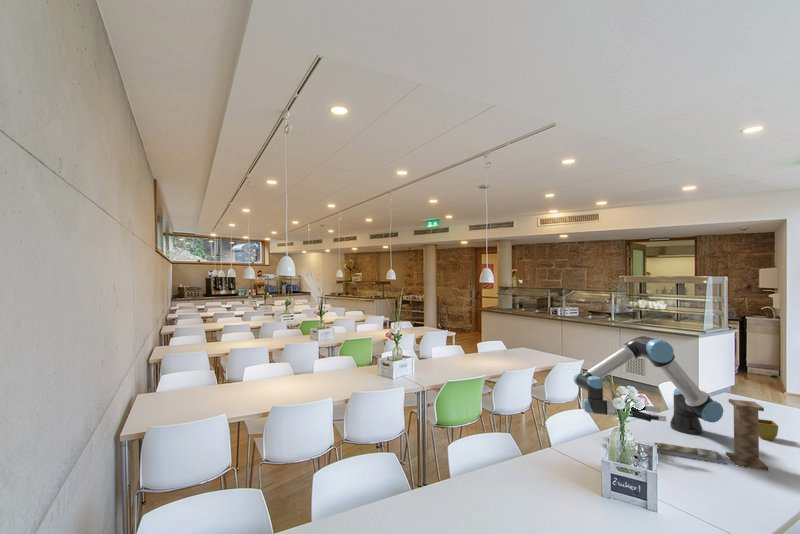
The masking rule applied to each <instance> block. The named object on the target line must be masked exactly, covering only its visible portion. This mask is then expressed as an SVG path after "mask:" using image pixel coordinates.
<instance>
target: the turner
mask: <svg viewBox="0 0 800 534" xmlns="http://www.w3.org/2000/svg"><path fill="white" fill-rule="evenodd" d="M657 443H658V447H659V448H661V449H667V450H673V451H680V452H686V453H692V454H698V456H700V457H706V458H712V459H717V456H716V455H715V453H714V452H715V451H714V450H712V449H707V448H706V449H705V448H700V447H688V446H684V445H675V444H671V443H670V444H669V443H662V442H657ZM713 451H714V452H713Z"/></svg>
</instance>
